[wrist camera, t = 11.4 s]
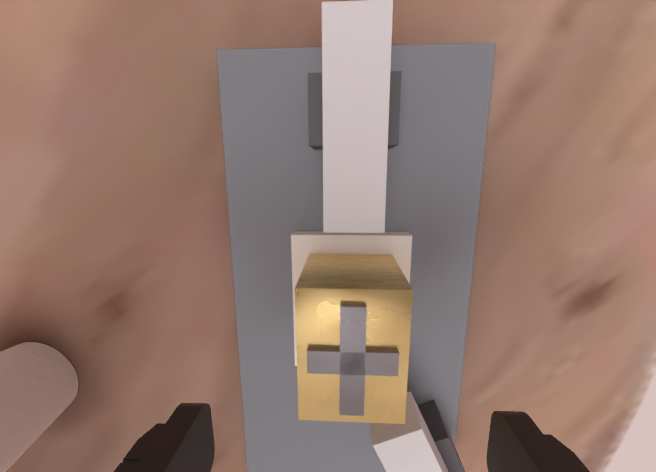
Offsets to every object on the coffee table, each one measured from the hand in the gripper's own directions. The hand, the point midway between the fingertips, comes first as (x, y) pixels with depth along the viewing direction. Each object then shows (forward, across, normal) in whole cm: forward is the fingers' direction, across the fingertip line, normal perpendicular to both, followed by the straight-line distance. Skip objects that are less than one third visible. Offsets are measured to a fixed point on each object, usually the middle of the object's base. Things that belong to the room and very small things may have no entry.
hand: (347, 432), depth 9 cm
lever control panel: (+11, 0, 0) cm, 11 cm away
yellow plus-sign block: (+9, 0, 0) cm, 9 cm away
